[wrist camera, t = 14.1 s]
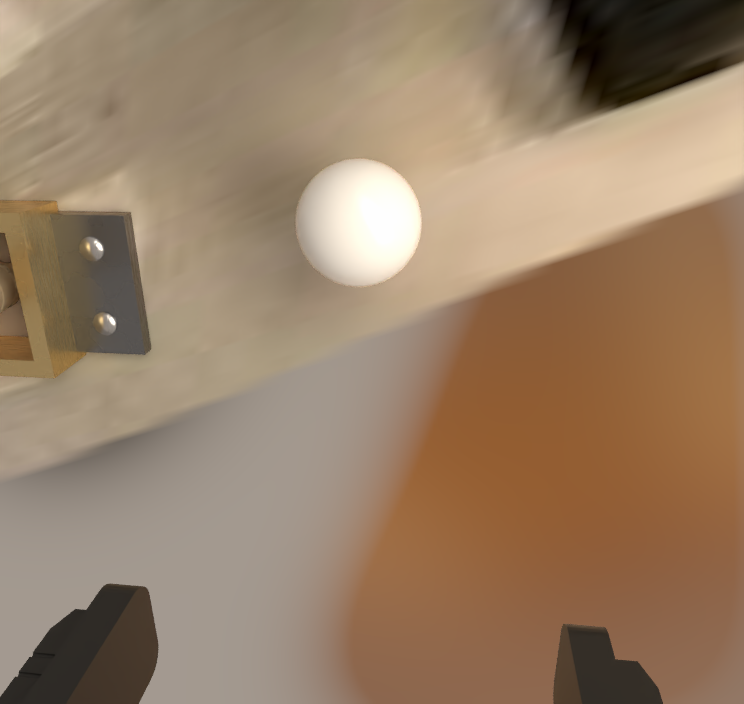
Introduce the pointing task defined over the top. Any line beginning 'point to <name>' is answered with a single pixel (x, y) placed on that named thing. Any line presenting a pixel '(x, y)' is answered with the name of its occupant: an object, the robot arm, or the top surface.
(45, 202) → the wooden frame on plate
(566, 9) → the top surface
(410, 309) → the top surface
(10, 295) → the handle
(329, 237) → the lightbulb
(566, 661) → the robot arm
